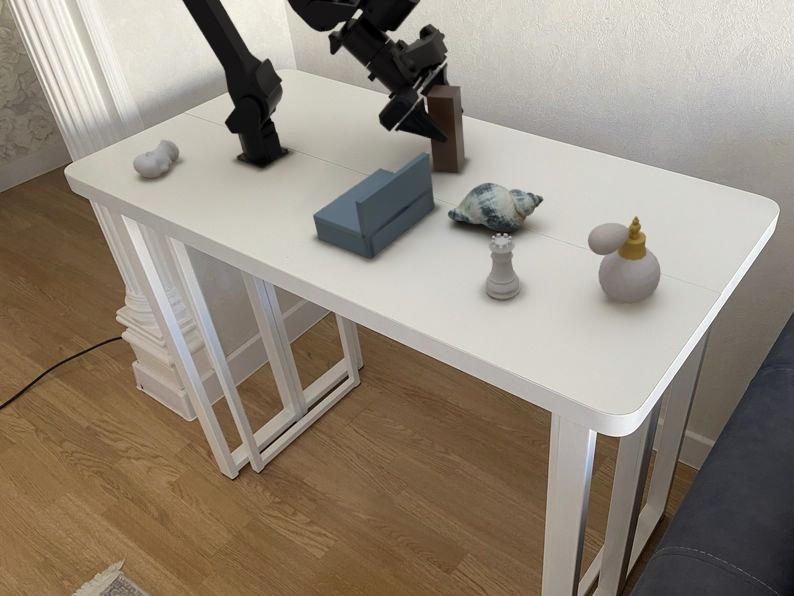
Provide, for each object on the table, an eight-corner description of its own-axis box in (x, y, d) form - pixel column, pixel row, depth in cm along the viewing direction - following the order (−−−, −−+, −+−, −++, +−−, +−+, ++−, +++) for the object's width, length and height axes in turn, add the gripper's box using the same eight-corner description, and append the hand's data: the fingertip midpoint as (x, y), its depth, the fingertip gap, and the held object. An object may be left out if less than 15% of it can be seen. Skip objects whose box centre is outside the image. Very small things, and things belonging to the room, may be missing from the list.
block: (433, 170, 117) (426, 96, 108) (440, 158, 120) (434, 84, 111) (458, 173, 116) (453, 97, 107) (464, 160, 119) (460, 86, 110)
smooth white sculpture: (152, 189, 120) (130, 174, 121) (190, 167, 124) (168, 152, 125) (148, 169, 116) (125, 153, 118) (186, 147, 121) (165, 132, 122)
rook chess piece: (483, 281, 95) (481, 230, 90) (517, 278, 95) (517, 227, 90) (487, 302, 92) (485, 251, 86) (522, 299, 92) (522, 247, 87)
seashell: (472, 215, 110) (539, 238, 104) (442, 218, 104) (512, 243, 98) (480, 173, 107) (549, 194, 101) (450, 174, 101) (522, 197, 96)
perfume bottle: (667, 290, 92) (681, 209, 84) (630, 332, 86) (641, 250, 78) (614, 270, 95) (623, 190, 87) (576, 310, 90) (581, 229, 82)
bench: (318, 238, 105) (305, 183, 98) (383, 190, 113) (375, 137, 107) (370, 259, 100) (360, 203, 94) (434, 207, 109) (429, 153, 103)
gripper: (388, 39, 96) (472, 122, 101) (428, -8, 109) (501, 68, 114) (344, 93, 103) (425, 168, 109) (386, 43, 116) (457, 112, 121)
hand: (454, 126), depth 113 cm, fingers open, 9 cm apart
